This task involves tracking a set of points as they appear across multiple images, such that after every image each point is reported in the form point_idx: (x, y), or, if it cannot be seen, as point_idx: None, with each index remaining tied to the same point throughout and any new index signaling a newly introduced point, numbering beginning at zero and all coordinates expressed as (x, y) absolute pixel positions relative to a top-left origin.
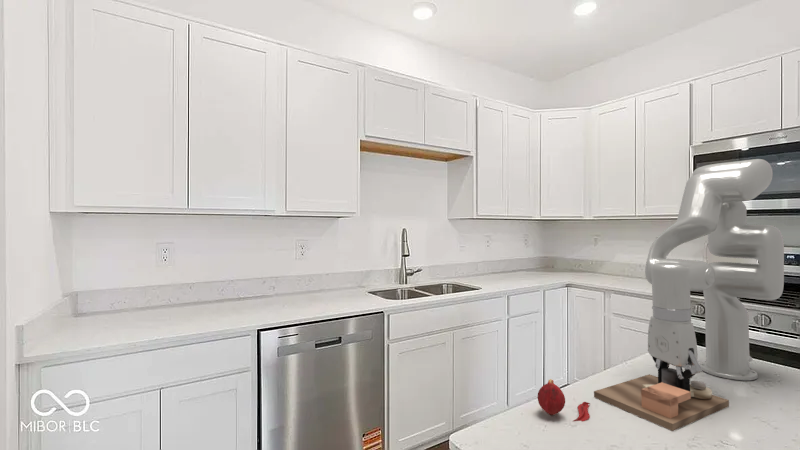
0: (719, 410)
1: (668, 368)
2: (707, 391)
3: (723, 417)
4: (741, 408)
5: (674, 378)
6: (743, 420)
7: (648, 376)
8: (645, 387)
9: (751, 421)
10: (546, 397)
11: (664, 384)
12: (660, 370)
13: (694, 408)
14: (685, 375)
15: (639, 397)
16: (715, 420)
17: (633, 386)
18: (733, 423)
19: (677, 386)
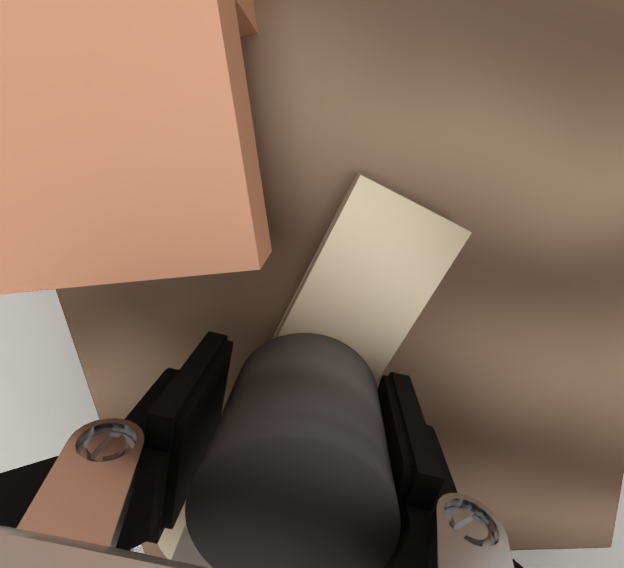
0: None
1: (364, 565)
2: (169, 531)
3: (74, 394)
4: (133, 551)
5: (221, 427)
6: (30, 442)
7: (592, 511)
8: (417, 204)
9: (16, 462)
10: None
11: (201, 233)
12: (412, 479)
13: (103, 294)
14: (28, 477)
15: (384, 74)
16: (53, 323)
17: (555, 247)
18: (10, 371)
19: (187, 362)
